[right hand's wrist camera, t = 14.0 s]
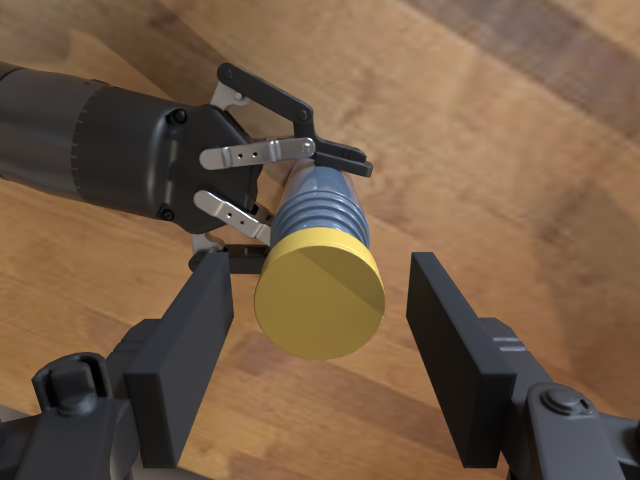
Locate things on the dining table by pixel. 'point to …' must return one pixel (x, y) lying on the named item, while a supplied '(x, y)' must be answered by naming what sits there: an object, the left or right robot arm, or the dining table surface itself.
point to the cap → (319, 294)
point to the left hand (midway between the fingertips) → (357, 209)
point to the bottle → (319, 203)
